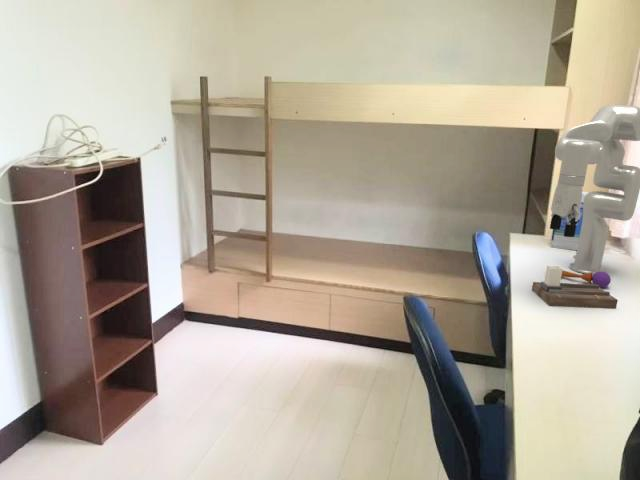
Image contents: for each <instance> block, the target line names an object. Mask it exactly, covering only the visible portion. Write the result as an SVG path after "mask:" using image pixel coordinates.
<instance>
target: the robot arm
mask: <svg viewBox="0 0 640 480" xmlns="http://www.w3.org/2000/svg"><path fill="white" fill-rule="evenodd" d="M621 141H630V142H631V141H632V142H640V106H636V105H621V104H606V105H605V106H604V105H603V106H602V107H601V108H599V109H598V111H597V112H596V113H595V115H593V117H592V118H591V119H590V121H589V122H586V123H582V124H580V125H578V126H574V127H572V128H570V129H568V130H566V131H565V132H564V133H563V134H562V136H561V137H560V138H559V140H558V141H557V143H556V145H555V147H554V148H555V149H554V155H555V158H556V159H558V161H560V162H561V164H560V169H559V174H558V181H557V184H556V187H555V189H554V194H553V197H552V201H551V207H550V210H551V219H550V224H549V229H550V230H553V229H560V225H561V220H562V218H560V217H566V219H567V224H566V225H565V231H564V236H565V237H574V235H575V230H576V225H577V224H578V222H579V219H580V217H581V212H580V206H581V199H582V192H583V187H585V186H584V185H585V181H586V175H587V172H588V166H589V165H595V169H594V173H593V180H592V181H593V184H594V186H596V187H598V188H602V189H607V190H614V191H619V192H621V191H622V192H623V194H620V193H613V192H607V191H601V190H594V191H590V192H589V191H588V192H589V193H588V194H586V196H585V198H584V201H583V220H582V226H581V231H580V236H579V241H578V246H577V251H575V255H573V256H572V257H573V259H574V262H570V263H569V266H568V267H569V269H571V270H572V271H575V272H577V273H581V274H587V273H591V272H592V276H593V275H594V274H595V273H596V272H599V271H603V272H606V271H605V269H604V268H603V267H602V263H603V259H604V255H605V254H604V253H605V250H606V249H605V248H606V244H607V239H608V234H609V226H608V224H607V222H606V219H611V220H616V221H617V220H618V221H622V222H623V221H625V222H627V221H629V220H631V219H632V218H633V216H634V213H635V211H636V207H637V203H638V198H639V195H640V167H638V166H634V165H627V164H623V163H624V158H625V153H626V151H625V147H624V145H623V144H622V142H621ZM570 218H572V219H571V220H570Z"/></svg>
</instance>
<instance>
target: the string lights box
mask: <svg viewBox="0 0 640 480" xmlns="http://www.w3.org/2000/svg"><path fill="white" fill-rule="evenodd" d="M588 193H589V191H582V199H581V206H580V212H581V217H580V219H579V222H578V224H577V225H576V230H575V235H574V237H565V236H564V231H565V225H566V224H567V219H566V217H560V218H562V220H561V225H560V229H552V234H551V239H550V245H549V246H550V248H554V249H555V248H556V249H561V248H562V249H563V250H568V249H571V250H570V251H575V250H577V246H578V241H579V236H580V231H581V226H582V220H583V201H584V198H585V196H586V194H588ZM571 219H572V218H570V220H571ZM562 249H561V250H562Z"/></svg>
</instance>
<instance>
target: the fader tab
mask: <svg viewBox="0 0 640 480" xmlns="http://www.w3.org/2000/svg"><path fill="white" fill-rule="evenodd" d="M545 268H546V269H545V273H544V274H545V275H544V279H543V281H540V282H541V287H542V288H543V289H544V290H546V291H549V289H558V290H562V287H561V286H560V283H561V280H562V277H561V276H562V270H563V268H562V267H560V266H557V265H546V267H545ZM563 271H564V270H563Z"/></svg>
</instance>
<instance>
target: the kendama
mask: <svg viewBox="0 0 640 480" xmlns="http://www.w3.org/2000/svg"><path fill="white" fill-rule="evenodd" d="M561 278H577V279H582V280H583V281H585V282H587V284H596V285H599V288H601V289H604V288H606V287H608V286H609V285H610V284H611V281H612V280H611V276H610V275H609V273H608V272H606V271H605V272H603V271H599V272H596V273H595V274H594V275H592V272H591V273H587V274H584V273H582V274H579V273H574V272H571V271H566V270H562V276H561Z"/></svg>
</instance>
